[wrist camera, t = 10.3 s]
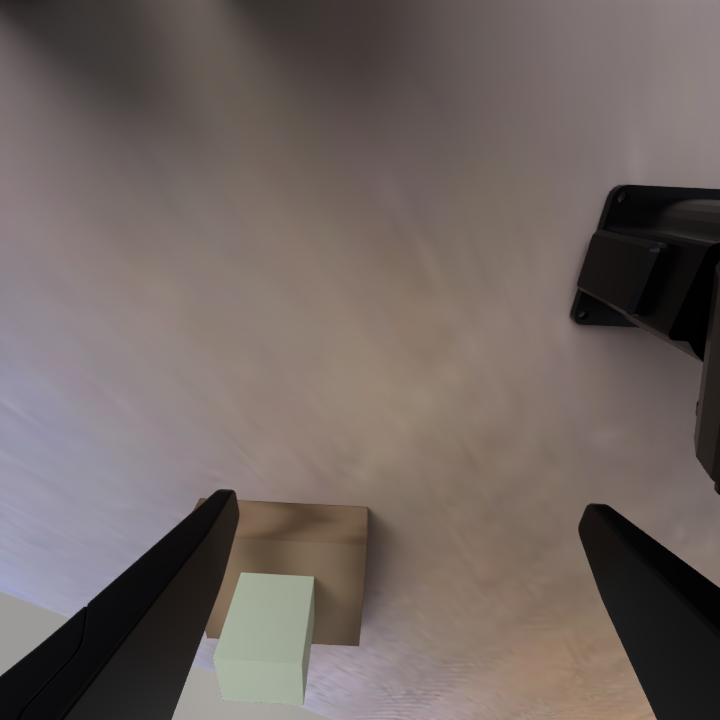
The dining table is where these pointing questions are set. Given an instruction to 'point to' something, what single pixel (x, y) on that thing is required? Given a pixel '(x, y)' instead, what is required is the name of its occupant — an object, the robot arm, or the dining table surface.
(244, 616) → the sage block
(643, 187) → the robot arm
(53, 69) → the dining table surface
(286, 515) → the walnut plinth
